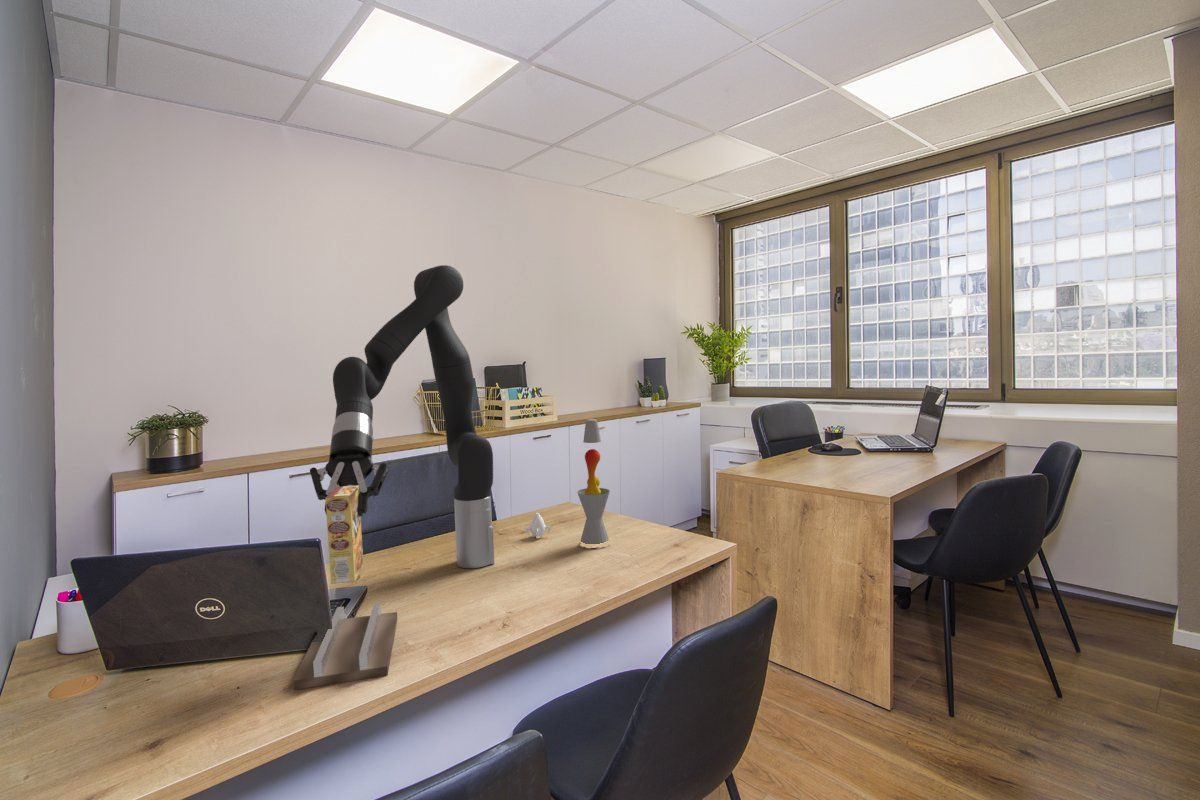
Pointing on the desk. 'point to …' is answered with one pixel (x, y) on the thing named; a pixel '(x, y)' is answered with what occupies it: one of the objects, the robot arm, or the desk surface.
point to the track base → (349, 650)
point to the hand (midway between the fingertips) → (345, 515)
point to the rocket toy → (537, 526)
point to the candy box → (344, 534)
